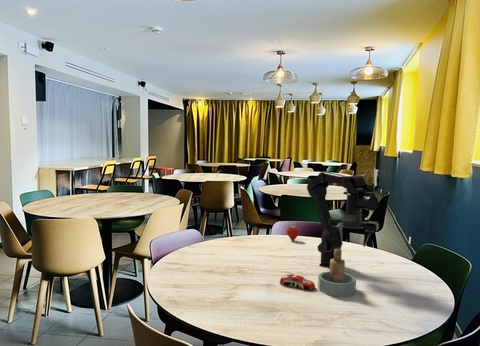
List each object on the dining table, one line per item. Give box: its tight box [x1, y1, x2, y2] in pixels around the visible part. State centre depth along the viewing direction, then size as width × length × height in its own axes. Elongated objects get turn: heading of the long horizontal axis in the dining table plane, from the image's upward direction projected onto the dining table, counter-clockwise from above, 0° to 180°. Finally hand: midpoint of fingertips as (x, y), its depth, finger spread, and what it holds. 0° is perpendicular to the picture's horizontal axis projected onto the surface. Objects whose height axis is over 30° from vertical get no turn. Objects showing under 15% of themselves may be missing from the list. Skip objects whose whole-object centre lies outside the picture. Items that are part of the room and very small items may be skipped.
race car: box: [279, 273, 316, 291], centre depth 135 cm, size 13×5×4 cm, turn 61°
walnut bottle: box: [329, 249, 346, 283], centre depth 132 cm, size 5×5×14 cm
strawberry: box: [286, 225, 300, 242], centre depth 200 cm, size 6×8×10 cm
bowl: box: [317, 270, 357, 298], centre depth 132 cm, size 13×13×4 cm
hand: (352, 244), depth 145 cm, fingers open, 9 cm apart
